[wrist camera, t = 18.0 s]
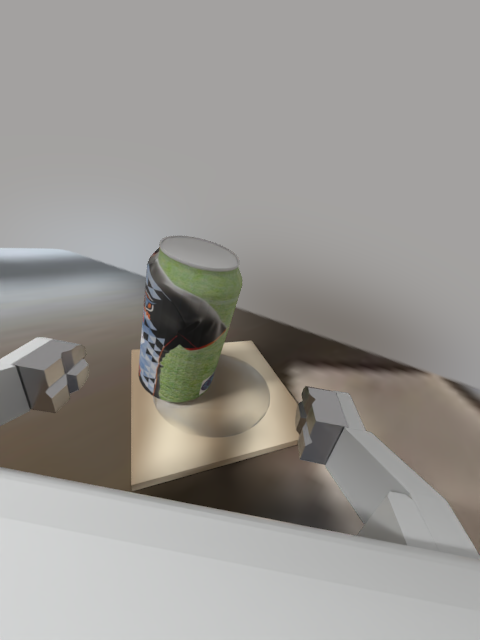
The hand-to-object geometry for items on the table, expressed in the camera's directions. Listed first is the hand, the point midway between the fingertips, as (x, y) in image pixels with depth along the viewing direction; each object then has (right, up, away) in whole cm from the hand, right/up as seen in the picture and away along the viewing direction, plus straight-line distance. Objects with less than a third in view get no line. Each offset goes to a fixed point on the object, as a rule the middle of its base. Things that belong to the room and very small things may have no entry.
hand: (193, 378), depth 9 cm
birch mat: (-1, -4, +12) cm, 13 cm away
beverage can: (-3, -4, +12) cm, 13 cm away
